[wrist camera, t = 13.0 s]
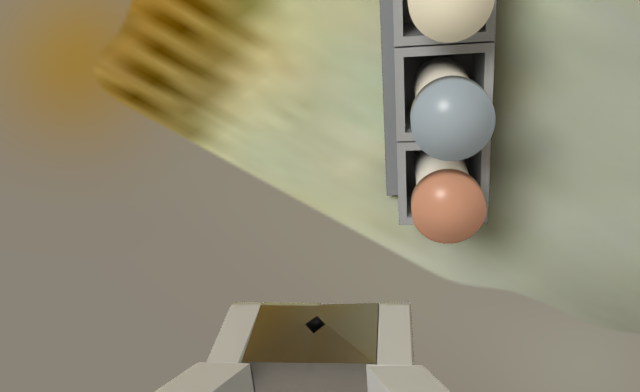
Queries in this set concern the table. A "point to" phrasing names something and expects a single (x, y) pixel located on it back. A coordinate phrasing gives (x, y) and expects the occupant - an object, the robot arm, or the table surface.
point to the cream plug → (449, 18)
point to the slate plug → (450, 111)
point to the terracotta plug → (446, 200)
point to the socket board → (398, 94)
